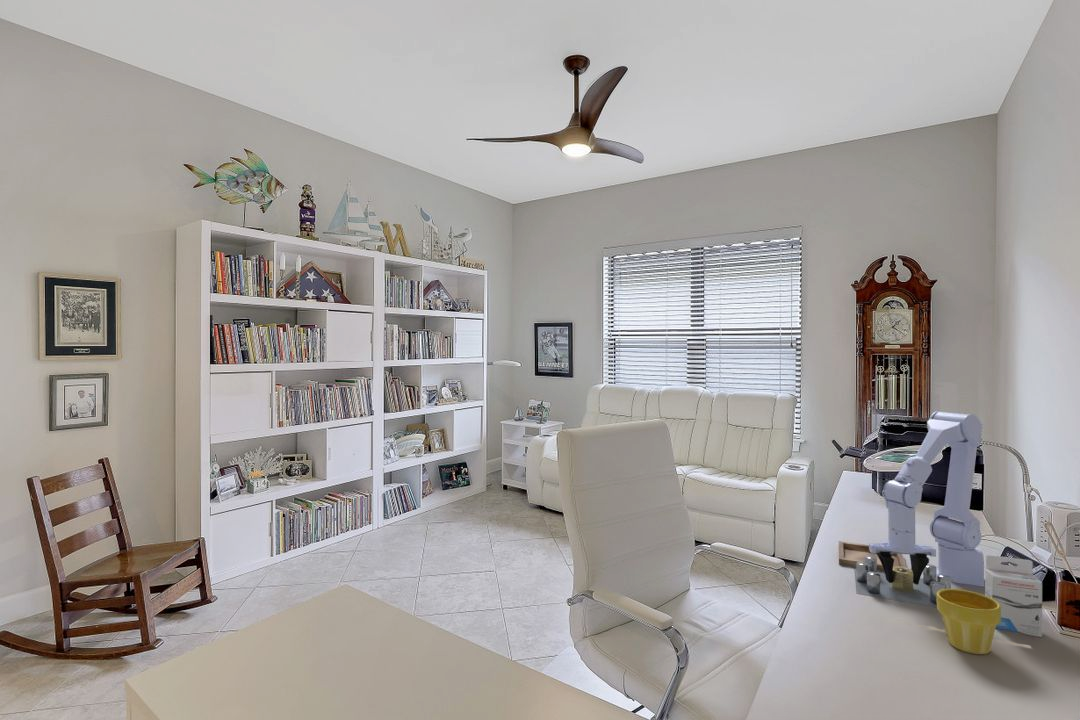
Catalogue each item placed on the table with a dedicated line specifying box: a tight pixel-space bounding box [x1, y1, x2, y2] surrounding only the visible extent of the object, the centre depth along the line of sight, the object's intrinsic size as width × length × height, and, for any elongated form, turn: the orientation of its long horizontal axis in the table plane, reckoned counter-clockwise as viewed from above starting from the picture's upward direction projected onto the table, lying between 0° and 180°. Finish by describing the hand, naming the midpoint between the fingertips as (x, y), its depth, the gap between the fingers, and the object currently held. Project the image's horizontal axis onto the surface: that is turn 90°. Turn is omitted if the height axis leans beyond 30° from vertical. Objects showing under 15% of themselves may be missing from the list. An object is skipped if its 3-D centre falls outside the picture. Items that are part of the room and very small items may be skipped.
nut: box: [891, 567, 913, 592], centre depth 137 cm, size 4×5×5 cm
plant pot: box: [936, 588, 1001, 655], centre depth 111 cm, size 10×10×10 cm
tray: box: [838, 540, 907, 572], centre depth 156 cm, size 16×16×2 cm
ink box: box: [984, 554, 1043, 638], centre depth 117 cm, size 9×5×15 cm, turn 65°
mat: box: [853, 567, 937, 609], centre depth 137 cm, size 21×18×1 cm
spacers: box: [855, 556, 952, 605], centre depth 137 cm, size 20×15×4 cm
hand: (902, 582), depth 137 cm, fingers open, 5 cm apart
